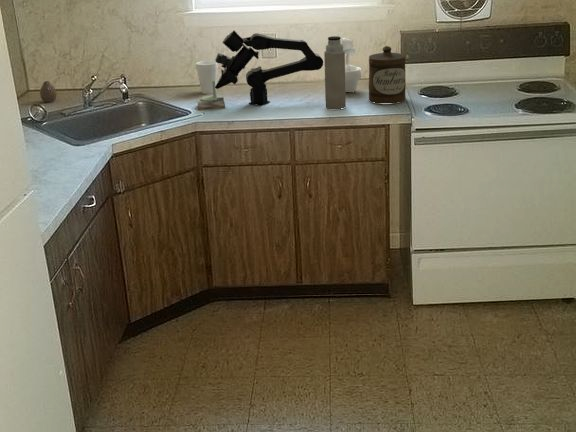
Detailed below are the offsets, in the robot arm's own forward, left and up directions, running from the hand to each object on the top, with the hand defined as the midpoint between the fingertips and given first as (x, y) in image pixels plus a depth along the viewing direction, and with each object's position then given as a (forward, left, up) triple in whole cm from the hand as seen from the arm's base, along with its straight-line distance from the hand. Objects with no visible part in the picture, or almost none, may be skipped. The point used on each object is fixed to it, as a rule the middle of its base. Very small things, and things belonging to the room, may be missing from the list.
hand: (216, 88), depth 329 cm
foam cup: (+20, -18, -8) cm, 28 cm away
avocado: (+74, +26, -8) cm, 79 cm away
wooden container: (-58, -38, -8) cm, 70 cm away
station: (+2, +2, -8) cm, 8 cm away
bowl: (+4, +3, -8) cm, 9 cm away
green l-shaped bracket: (+2, +2, -4) cm, 5 cm away
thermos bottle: (-45, -19, -8) cm, 50 cm away
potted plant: (-36, -44, -8) cm, 58 cm away
